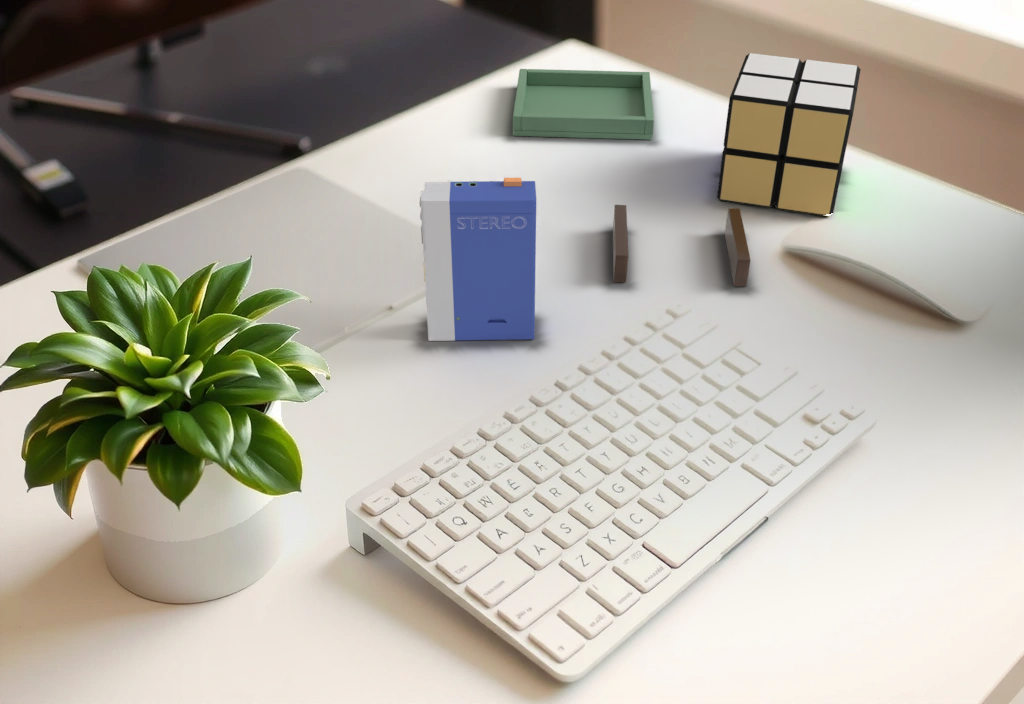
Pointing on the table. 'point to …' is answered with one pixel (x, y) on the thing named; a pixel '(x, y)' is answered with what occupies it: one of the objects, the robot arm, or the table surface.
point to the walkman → (479, 259)
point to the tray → (583, 104)
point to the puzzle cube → (787, 133)
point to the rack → (732, 234)
